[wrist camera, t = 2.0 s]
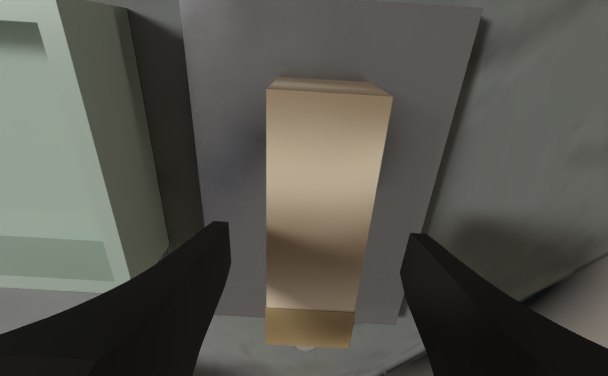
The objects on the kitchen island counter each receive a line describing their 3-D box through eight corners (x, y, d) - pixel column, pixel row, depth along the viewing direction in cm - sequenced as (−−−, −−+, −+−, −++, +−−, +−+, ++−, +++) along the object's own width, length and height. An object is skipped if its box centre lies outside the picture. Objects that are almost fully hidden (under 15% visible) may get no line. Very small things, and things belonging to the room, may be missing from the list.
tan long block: (340, 287, 18) (348, 349, 14) (274, 284, 18) (265, 345, 14) (370, 82, 13) (395, 97, 9) (277, 76, 13) (264, 89, 9)
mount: (391, 314, 20) (406, 365, 17) (218, 304, 20) (201, 353, 17) (470, 10, 12) (526, -1, 9) (187, -7, 12) (144, -25, 9)
